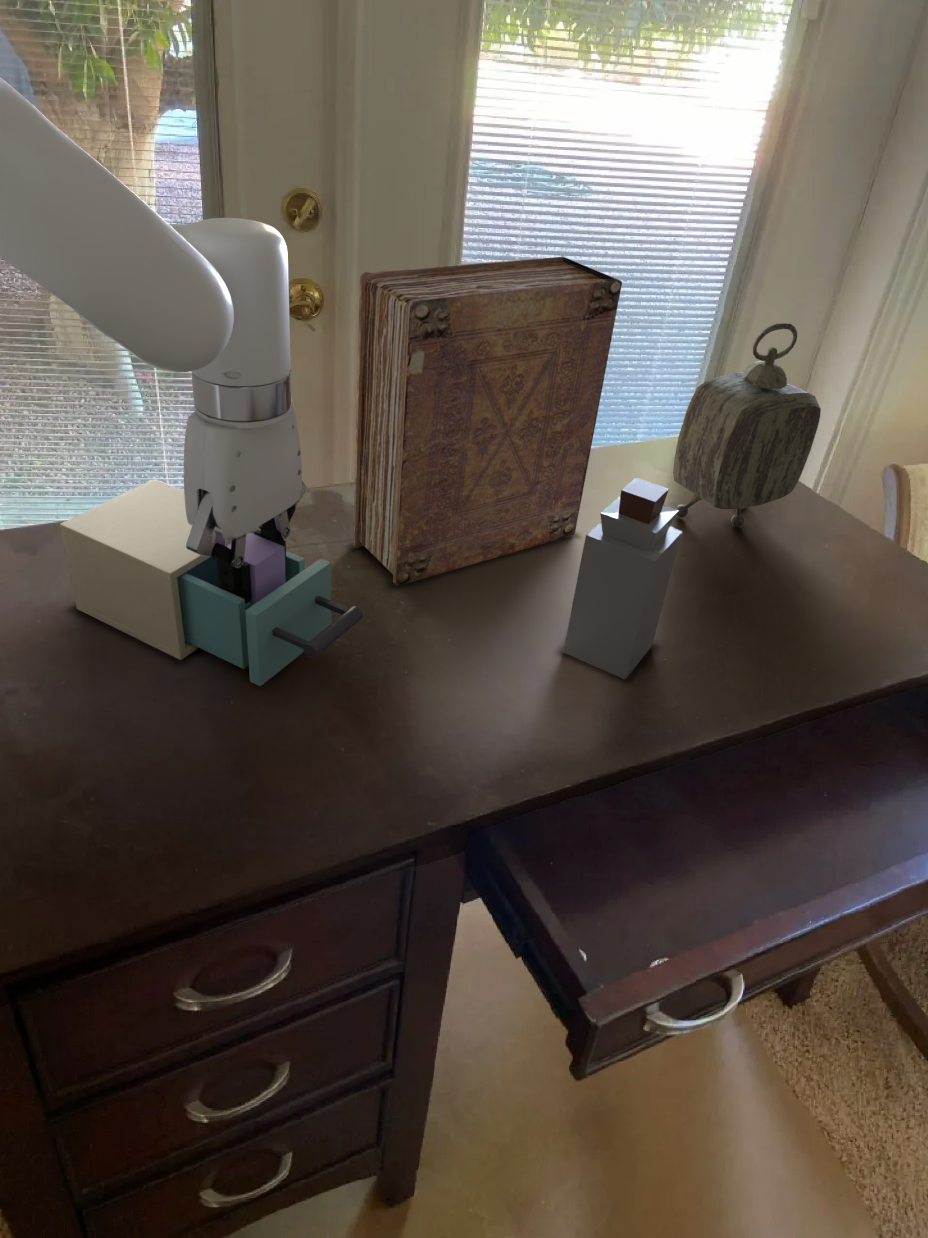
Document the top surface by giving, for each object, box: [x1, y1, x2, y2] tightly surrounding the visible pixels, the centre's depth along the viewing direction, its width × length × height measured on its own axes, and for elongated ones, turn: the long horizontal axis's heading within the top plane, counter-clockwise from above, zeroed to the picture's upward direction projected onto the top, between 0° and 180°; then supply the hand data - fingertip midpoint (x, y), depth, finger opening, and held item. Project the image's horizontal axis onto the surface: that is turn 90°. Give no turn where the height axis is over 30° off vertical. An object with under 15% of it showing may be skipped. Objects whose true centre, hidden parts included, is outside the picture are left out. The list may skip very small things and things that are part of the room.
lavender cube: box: [226, 533, 286, 603], centre depth 79 cm, size 4×4×4 cm
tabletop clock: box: [672, 322, 822, 528], centre depth 107 cm, size 14×9×25 cm, turn 122°
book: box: [352, 256, 623, 586], centre depth 95 cm, size 25×9×30 cm, turn 124°
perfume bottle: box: [562, 477, 684, 680], centre depth 84 cm, size 7×7×18 cm
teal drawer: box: [177, 550, 364, 687], centre depth 81 cm, size 17×10×8 cm, turn 60°
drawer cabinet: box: [59, 478, 260, 661], centre depth 86 cm, size 14×12×10 cm
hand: (253, 583), depth 80 cm, fingers closed on lavender cube, 4 cm apart
